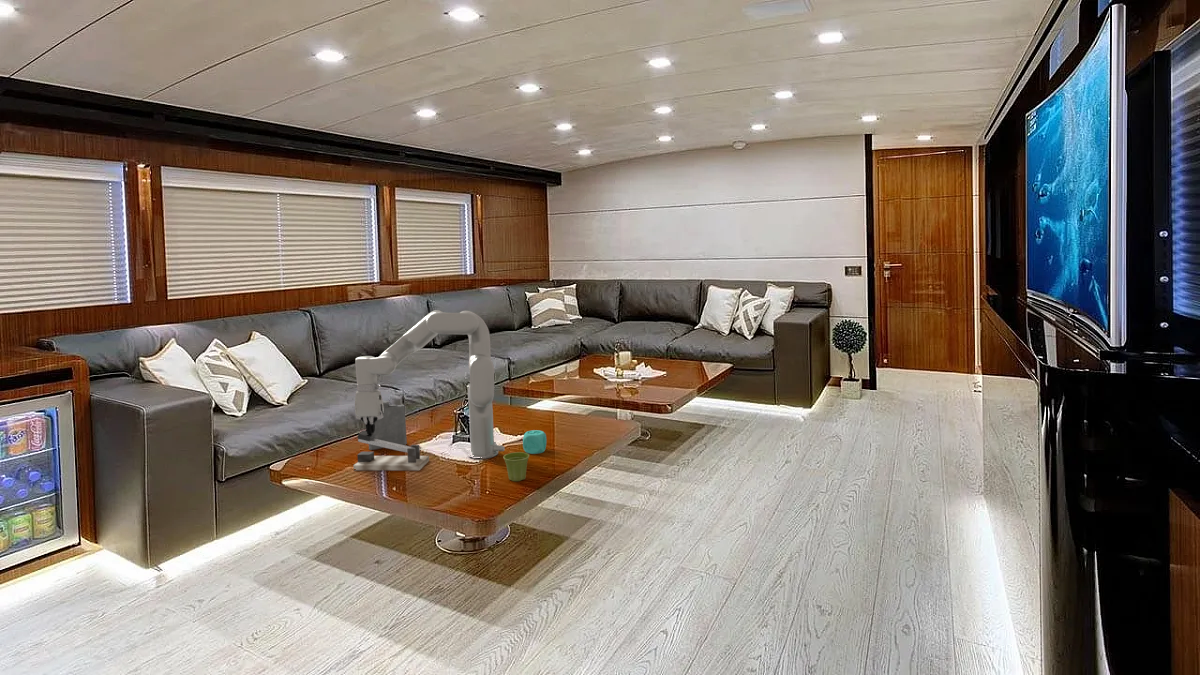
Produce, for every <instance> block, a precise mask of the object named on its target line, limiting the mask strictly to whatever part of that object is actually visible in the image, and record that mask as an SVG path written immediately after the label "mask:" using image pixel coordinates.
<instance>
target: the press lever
mask: <svg viewBox="0 0 1200 675" xmlns="http://www.w3.org/2000/svg"><path fill="white" fill-rule="evenodd" d="M375 434H376V433H373V434H367V432H366V430H362V431H360V432H358V435H357V438H356V439H357V442H359V443H363V444H368V445H369V444H371V445H376V446H380V447H385V449H389V450H393V451H399V452H403V453H406V454H408V452H407V449H408V448H414V447H411V446H409V445H401V444H396V443H392V442H387V441H383V440H378V439H374V438H375Z"/></svg>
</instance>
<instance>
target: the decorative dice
mask: <svg viewBox="0 0 1200 675" xmlns="http://www.w3.org/2000/svg"><path fill="white" fill-rule="evenodd" d="M547 441H548V440H547V434H546V432H544V431H543V430H539V429H538V430H537V429H536V430H535V429H533V430H528V431H526V432H525V433H524V434H523V438H522V448H523V451H524V453H527V454H529V455H530V454H531V455H536V454H538V455H539V454H542V453H544V452H545V450H546V449H547V448H546V447H547Z"/></svg>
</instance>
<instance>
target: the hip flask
mask: <svg viewBox="0 0 1200 675" xmlns="http://www.w3.org/2000/svg"><path fill="white" fill-rule="evenodd" d="M383 406H384V413H383V418H382V419H379V420H377V421H376V422H375V431H374V433H376V434H375V438H374V439H378V440H383V441H387V442H392V443H396V444H401V445H405V446H407V445H406V444H408V442H407V441H408V440H407V439H408V438H407V422H406V410H405V409H406V407H405V405H404V404H390V400H383ZM369 419H370V417H369ZM384 448H385V447H380V446H376V445H371V444H368V450H370V451H372V450H373V451H375V450H379V449H384ZM385 449H386V448H385Z"/></svg>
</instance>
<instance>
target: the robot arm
mask: <svg viewBox="0 0 1200 675" xmlns="http://www.w3.org/2000/svg"><path fill="white" fill-rule="evenodd" d="M438 335H467V337H468V347H469V348H468V350H469V351H468V352H469V353H468V354H469V355H468V370H469V385H468V388H467V398H468V399H467V400H468V402H467V403H468V414H469V437H470V440H469V441H470V450H471V453H472V455H474V456H473V457H480V458H481V457H482V458H485V459H490V458H494V457H496V456H498V454H499V452H504V451H505V446H503V445H500V444H499V445H498V444H497V442H496V441H495V436H494V434H495V433H494V414H493V413H494V410H493V400H494V397H495V365H494V363H493V360H492V357H491V356H492V355H491V336H490V335H491V334H490V330H489V328H488V326H487V324H486V323H485V320H484V319H483V318H482V317H481V316H480V315H478V314H477V313H475V312H474V311H471V310H462V311H460V312H444V311H442V310H439V309H435V310H432V311H430V312H429V313H427V315H425V316H424V317H423V318H422V319H420V320H419V321H418V322H417V323H416V324H415V325H414V326H412V327H411V328H410V329H409V330H408V331H407V332H405V333H404V334H403V335H402V336H401V337H400V338H399V339H398V340H396V342H395V341H394V343H393V344H391V345H390V346H389V347H388V348H387V349H386V350H384V351H383V352H382V353H381V354H379V356H378V357H377V356H376V357H375V356H372V355H363V356H358V357H356V358H355V362H354V363H355V376H356V387H357V391H355V396H354V413H355V419H357V420H360V421H362V423H364V425H365V431H366V432H367V434H373V433H374V431H375V422H376V421H377V420H379V419H382V418H383V413H384V406H383V401H384V400H383V396H382V393H381V390H380V389H381V384H379V383H378V376H377V375H379V376H380V375H381V376H388V375H391V374H393V373H394V372H395V370H396V369H397V366H398V365H399V364H400V363H401V362H403V361H404V360H405V359H406V358H407V357H409V356H410V355H411V354H414V353H415V352H417V351H419V350H421V349H422V348H424V347H425V346H426V345H427V344H428V343H429V342H431V341H432V340H433V339H434V338H436V337H437V336H438ZM369 417H370V419H369ZM468 455H469V454H468ZM472 455H470V456H472Z"/></svg>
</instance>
